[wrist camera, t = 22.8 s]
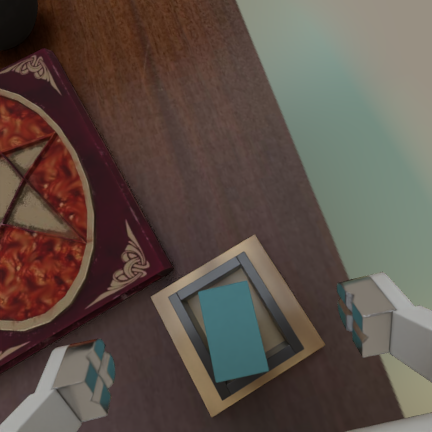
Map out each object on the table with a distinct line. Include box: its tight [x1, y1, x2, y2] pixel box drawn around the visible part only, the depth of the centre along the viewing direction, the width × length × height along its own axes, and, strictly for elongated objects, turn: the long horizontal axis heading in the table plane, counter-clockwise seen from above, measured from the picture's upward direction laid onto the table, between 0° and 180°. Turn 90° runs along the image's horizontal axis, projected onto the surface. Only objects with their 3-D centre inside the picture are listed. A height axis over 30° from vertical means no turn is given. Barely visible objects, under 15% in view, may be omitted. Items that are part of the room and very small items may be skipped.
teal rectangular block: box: [198, 281, 269, 383], centre depth 23 cm, size 3×5×10 cm, turn 12°
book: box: [0, 48, 174, 374], centre depth 32 cm, size 28×21×5 cm
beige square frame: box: [151, 235, 325, 417], centre depth 27 cm, size 11×11×4 cm
